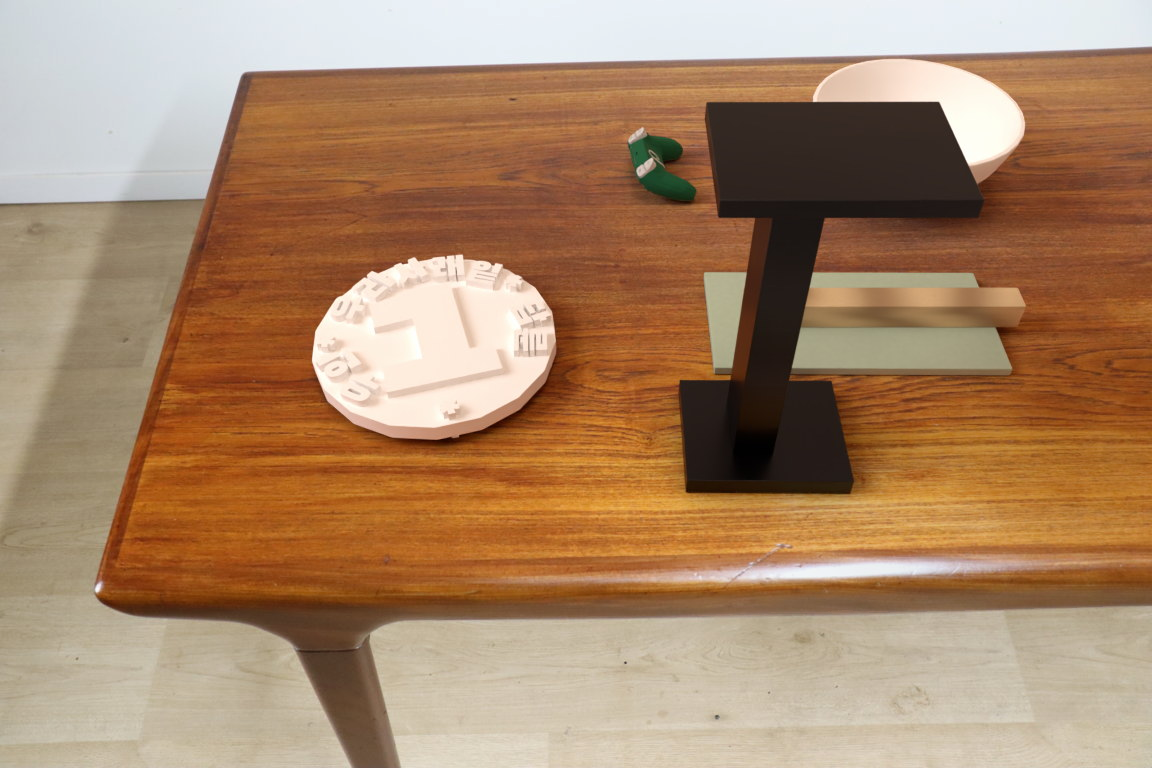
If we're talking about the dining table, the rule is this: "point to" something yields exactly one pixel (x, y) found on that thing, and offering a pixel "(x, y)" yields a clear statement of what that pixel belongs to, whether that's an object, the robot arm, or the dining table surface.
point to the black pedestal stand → (803, 272)
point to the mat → (864, 333)
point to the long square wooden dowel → (913, 307)
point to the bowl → (968, 101)
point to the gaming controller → (658, 165)
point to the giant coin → (434, 348)
